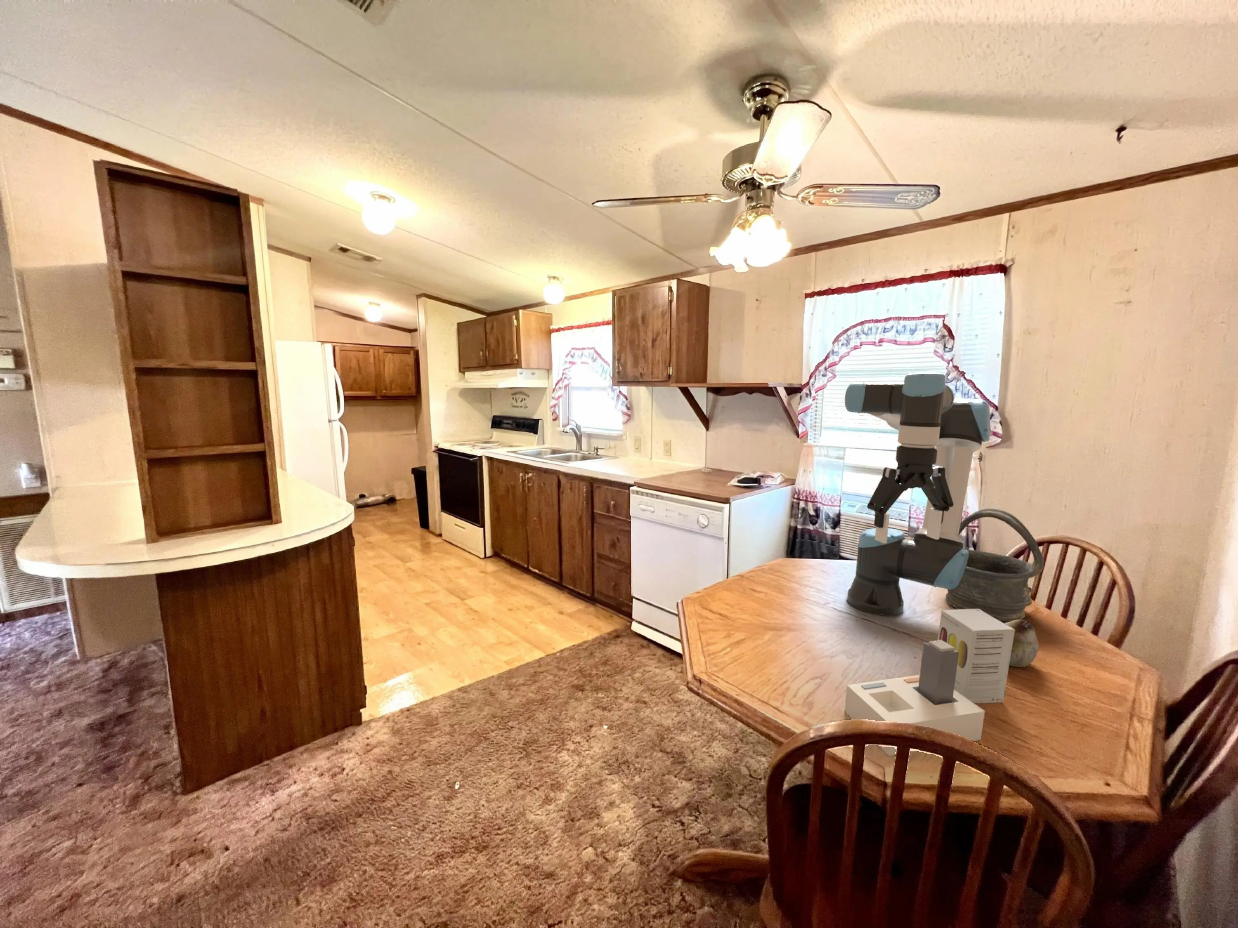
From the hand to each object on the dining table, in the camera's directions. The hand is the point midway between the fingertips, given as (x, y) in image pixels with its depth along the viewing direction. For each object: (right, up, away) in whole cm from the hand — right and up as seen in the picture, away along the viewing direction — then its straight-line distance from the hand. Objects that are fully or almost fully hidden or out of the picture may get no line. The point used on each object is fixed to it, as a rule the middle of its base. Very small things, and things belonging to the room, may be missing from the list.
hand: (906, 539), depth 107 cm
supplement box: (+12, -33, -2) cm, 35 cm away
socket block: (-7, -34, -13) cm, 38 cm away
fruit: (+30, -31, +9) cm, 44 cm away
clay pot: (+45, -26, +37) cm, 64 cm away
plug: (-2, -31, -13) cm, 34 cm away
